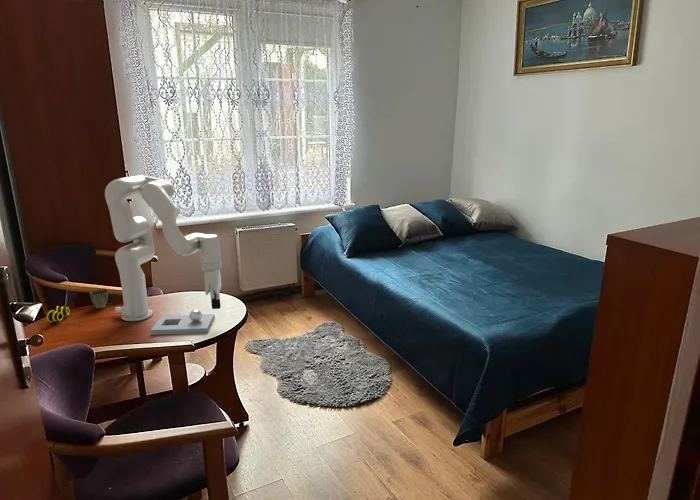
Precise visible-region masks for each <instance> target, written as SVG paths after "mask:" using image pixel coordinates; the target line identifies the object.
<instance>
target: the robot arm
mask: <svg viewBox="0 0 700 500" xmlns="http://www.w3.org/2000/svg"><path fill="white" fill-rule="evenodd" d="M174 193H175V189H174V186H173V184H172V183H171V182H169V181H168V180H166V179H163V178H159V177H157V178H156V177H152V176H147V175H132V176H126V177H119V178H117V179H116V178H115V179H113V180H112V181H110V182H109V183H108V184H107V185H106V187H105V190H104V197H105V201H106V204H107V207H108V211H109V215H110V220H111V226H112V231H113V235H114V237H115V239H116V240H117V242H120V243H123V244H124V243H129V242H132V243H129V244H126V245H124V246H121V247H120V248H118V249H117V250H116V252H115V255H114V258H115V259H114V260H115V263H116V267H117V269H118V272H119V277H120V284H121V293H122V302H123V306H115V308H114V311H115V314H120V313H121V317H120V318H121V319H122V320H124V321H125V322H139V321H142V320H145V319H149V318H150V317H152V316H153V315H154V311H153V310H152V309H151V308H149V302H148V300H149V299H148V293H147V286H146V285H147V284H146V283H147V282H146V276H145V273H144V271H143V268H141V265H143V264H145V263H147V262H149V261H150V260H152V259H153V258H154V257H155V245H154V240H153V239H154V238H153V233H152V229H151V225H150V223H149V221H148V220H147V219H146V218H145V217H143V216H140V215H135V216H134V212H133V208H132V206H131V204H130V202H129V201H128V200H129V199H132V198H137V197H141V198H142V199H143V201H144V202H145V203H146V204H147V206H148V207H149V208H150V209H151V210H152V211H153V213H154V214H155V215H156V216H157V218H158V219H159V221H160V222H161V229H162V233H163V236H164V239H165V240H166V242H167V244H168V245H169V246H170V248H172V250H173V251H174V252H175V253H176V254H178V255H179V256H182V257H187V256H191V255H193V254H195V253H198V252H200V257H201V266H202V271H204V273H203V274H204V275H203V276H204V277H203V278H204V293H205V295H206V296H208V295H210V300H211V301H210V303H211V309H212V310H217V309H218V310H219V309H221V306H222V305H221V299H220V291H221V289H222V277H221V276H222V275H221V269H223V266H222V265H223V264H222V263H223V262H222V257H221V256H222V255H221V245H220V244H221V243H220V236H218V235H217V234H212V233H211V234H209V233H207V234H205V233H201V232H193V233H190V234H187V235H184V234H183V233H182V232H181V230H180V229H179V227H178V225H177V218H178V216H179V214H180V212H181V211H180V208H179V206H178V205H177V204H176V203H175V202H174V201H173V199H172V198H173V196H174Z"/></svg>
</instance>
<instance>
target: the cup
mask: <svg viewBox="0 0 700 500" xmlns="http://www.w3.org/2000/svg"><path fill="white" fill-rule="evenodd" d="M89 295H90V300H91V302H92V304H93V305H94V306H95V308H96V309H98V310H101V309H105V308H106V304H107V303H108V301H109V299H108V298H109V297H108V296H109V289H107V288H105V289H104V288H102V289H101V288H99V289H98V288H97V289H94V290H91V291H89Z"/></svg>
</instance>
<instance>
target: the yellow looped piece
mask: <svg viewBox="0 0 700 500" xmlns="http://www.w3.org/2000/svg"><path fill="white" fill-rule="evenodd" d="M69 315H70V307H69V306H59V305H56V308H55V310H53V309H52V310H51V309H50V310H49V311H48V312H47V313H46V321H48V322H49V323H53V322H58V321H62V320H63V319H64V316H69Z"/></svg>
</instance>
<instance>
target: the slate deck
mask: <svg viewBox="0 0 700 500" xmlns="http://www.w3.org/2000/svg"><path fill="white" fill-rule="evenodd" d="M215 315H216V314H215V313H210V314H209V313H207V314H206V313H205V314H203V313H202V318H201V320H199V321H198V322H193V321H191V319H190V317H189V314H175V315H173V314H172V315H161V316H160V317H159V319H158V320H157V321H156V322H155V323H154V325H153V326H152V328H151V329H150V335H151V336H152V335H155V336H156V335H186V334H187V335H188V334H190V335H191V334H208V333H209V332H210V331H209V330H210V329H211V326H212V324H213V323H214V319H215V317H216V316H215Z"/></svg>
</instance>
